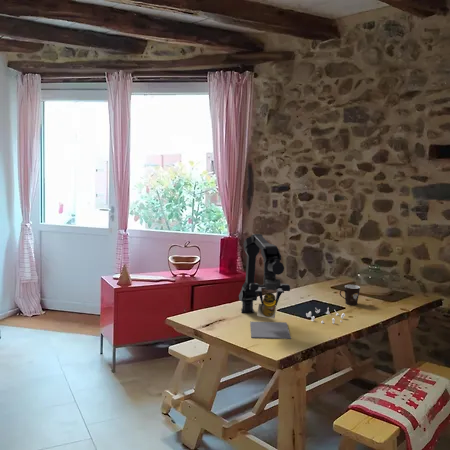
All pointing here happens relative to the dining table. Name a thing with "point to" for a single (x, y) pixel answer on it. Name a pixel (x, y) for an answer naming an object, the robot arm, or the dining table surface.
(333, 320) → the game piece set
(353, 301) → the coffee mug
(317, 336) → the dining table surface
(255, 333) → the rubber mat
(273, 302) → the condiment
